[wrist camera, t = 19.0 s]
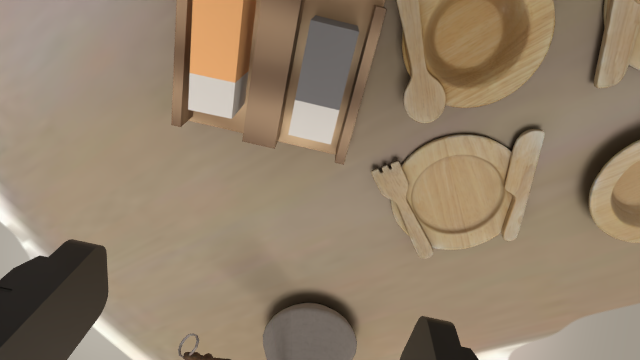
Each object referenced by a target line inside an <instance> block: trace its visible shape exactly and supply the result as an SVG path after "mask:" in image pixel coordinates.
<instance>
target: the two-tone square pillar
mask: <svg viewBox="0 0 640 360" xmlns="http://www.w3.org/2000/svg"><path fill="white" fill-rule="evenodd" d="M358 35H359V29H358V26H357V25H353V24H349V23H345V22H341V21H337V20H333V19H329V18H325V17H321V16H317V15H315V16H314V17H313V18H312V19H311V20H310V25H309V31H308V36H307V41H306V46H305V51H304V56H303V61H302V67H301V72H300V77H299V82H298V87H297V92H296V97H295V102H294V108H293V113H292V118H291V123H290V128H289V133H288V135H292V136H296V137H300V138H304V139H309V140H313V141H317V142H322V143H326V144H330V145H331V141H332V137H333V133H334V129H335V126H336V122H337V118H338V114H339V110H340V106H341V102H342V98H343V94H344V90H345V86H346V82H347V78H348V74H349V70H350V66H351V62H352V58H353V54H354V50H355V46H356V43H357V39H358Z"/></svg>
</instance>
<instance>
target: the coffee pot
mask: <svg viewBox="0 0 640 360" xmlns="http://www.w3.org/2000/svg"><path fill="white" fill-rule="evenodd" d="M192 335H194V336H196V340H197V341H196V345H195V348H194V349H193V350H192V352H185V354H184V356H182V355H181V347H182V344H183V343H184V341H185V340H186V339H187V338H188V337H189V336H192ZM198 343H199V338H198V336H197V335H195V334H188V335H187V336H186V337H185V338H184V339H183V340H182V342H181V343H180V346H179V349H178V352H179V356H181V357H183V358H184V359H185V360H231V359H222V358H213V356H212V355H211V354H209V353H208V354H205V355H204V356H203V355H200V354H199V353H197V352H195V350H196V349H197V347H198ZM263 346H264V350H265V354H266V358H267V360H352V359H353V357H354V355H355V353H356V347H357V341H356V337H355V333H354V331H353V329H352V327H351V326H350V324H349V323H348V321H347V320H346V319H345V318H344V317H343V316H342V315H340V314H339V313H338V312H336V311H334V310H332V309H330V308H328V307H326V306H324V305H321V304H317V303H301V304H296V305H293V306H290V307H288V308H285V309H283V310H281V311H280V312H279V313H277V314H276V315H275V316H274V317H273V318H272V319H271V320H270V322H269V323H268V324H267V325H266V328H265V331H264V334H263Z"/></svg>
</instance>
